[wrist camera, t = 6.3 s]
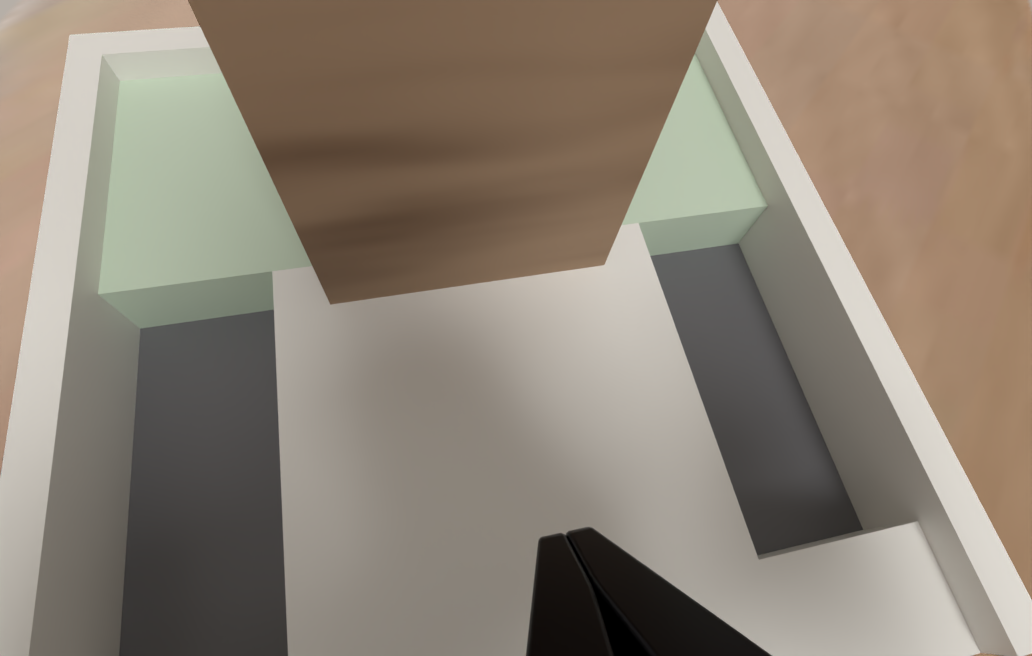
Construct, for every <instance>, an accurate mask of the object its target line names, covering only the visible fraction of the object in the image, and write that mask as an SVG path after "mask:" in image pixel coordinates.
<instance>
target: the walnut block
mask: <svg viewBox="0 0 1032 656" xmlns="http://www.w3.org/2000/svg"><path fill="white" fill-rule="evenodd" d="M188 1H189V4H190V6H191V8H192V10H193V12H194V14H195V16H196V18H197V21H198V23H199V25H200V27H201V29H202V31H203V33H204V36H205V38H206V40H207V42H208V44H209V46H210V48H211V51H212V53H213V55H214V57H215V59H216V61H217V63H218V65H219V68H220V70H221V72H222V74H223V76H224V78H225V80H226V83H227V85H228V87H229V89H230V91H231V93H232V95H233V98H234V100H235V102H236V104H237V106H238V108H239V110H240V112H241V115H242V117H243V119H244V121H245V123H246V125H247V127H248V130H249V132H250V134H251V136H252V138H253V140H254V142H255V145H256V147H257V149H258V151H259V153H260V155H261V157H262V160H263V162H264V164H265V166H266V168H267V170H268V172H269V174H270V177H271V179H272V181H273V183H274V185H275V187H276V189H277V192H278V194H279V196H280V198H281V200H282V202H283V204H284V207H285V209H286V211H287V213H288V215H289V217H290V219H291V221H292V224H293V226H294V228H295V230H296V232H297V234H298V236H299V239H300V241H301V243H302V245H303V247H304V249H305V251H306V254H307V256H308V258H309V260H310V262H311V264H312V266H313V269H314V271H315V273H316V275H317V277H318V279H319V281H320V283H321V286H322V288H323V290H324V292H325V294H326V296H327V298H328V301H329V303H330V305H331V304H338V303H345V302H352V301H359V300H366V299H373V298H380V297H387V296H394V295H401V294H407V293H414V292H421V291H428V290H435V289H442V288H449V287H456V286H463V285H470V284H477V283H484V282H491V281H498V280H505V279H512V278H519V277H525V276H532V275H539V274H546V273H553V272H560V271H567V270H574V269H581V268H588V267H595V266H602V265H605V262H606V260H607V258H608V255H609V253H610V251H611V248H612V246H613V244H614V241H615V239H616V236H617V234H618V232H619V229H620V227H621V225H622V222H623V220H624V218H625V215H626V213H627V211H628V208H629V206H630V204H631V201H632V199H633V197H634V194H635V192H636V190H637V187H638V185H639V183H640V180H641V178H642V176H643V173H644V171H645V169H646V166H647V164H648V162H649V159H650V157H651V155H652V152H653V150H654V148H655V145H656V143H657V141H658V138H659V136H660V134H661V131H662V129H663V127H664V124H665V122H666V120H667V117H668V115H669V113H670V110H671V108H672V106H673V103H674V101H675V99H676V96H677V94H678V92H679V89H680V87H681V85H682V82H683V80H684V78H685V75H686V73H687V71H688V68H689V66H690V63H691V61H692V59H693V56H694V54H695V52H696V49H697V47H698V45H699V42H700V40H701V38H702V35H703V33H704V31H705V28H706V26H707V24H708V21H709V19H710V17H711V14H712V12H713V10H714V7H715V5H716V3H717V0H188Z"/></svg>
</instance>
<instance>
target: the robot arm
mask: <svg viewBox="0 0 1032 656" xmlns="http://www.w3.org/2000/svg"><path fill="white" fill-rule="evenodd" d="M526 656H772V655H771V654H769V653H768V652H766V651H765V650H764V649H762V648H761V647H759V646H758V645H757V644H755V643H754V642H752V641H751V640H750V639H748V638H747V637H745V636H744V635H743V634H741V633H740V632H738V631H737V630H736V629H734V628H733V627H731V626H730V625H729V624H727V623H726V622H724V621H723V620H722V619H720V618H719V617H717V616H716V615H715V614H713V613H712V612H710V611H709V610H707V609H706V608H705V607H703V606H702V605H700V604H699V603H698V602H696V601H695V600H693V599H692V598H691V597H689V596H688V595H686V594H685V593H684V592H682V591H681V590H679V589H678V588H677V587H675V586H674V585H672V584H671V583H670V582H668V581H667V580H665V579H664V578H663V577H661V576H660V575H658V574H657V573H656V572H654V571H653V570H651V569H650V568H649V567H647V566H646V565H644V564H643V563H642V562H640V561H639V560H637V559H636V558H635V557H633V556H632V555H630V554H629V553H628V552H626V551H625V550H623V549H622V548H620V547H619V546H618V545H616V544H615V543H613V542H612V541H611V540H609V539H608V538H606V537H605V536H604V535H602V534H601V533H599V532H598V531H597V530H595V529H594V528H592V527H584V528H579V529H574V530H570V531H568V532H567V533H566V535H565V534H563V533H556V534H552V535H547V536H543V537H540V538H539V540H538V547H537V556H536V565H535V575H534V584H533V593H532V602H531V612H530V621H529V630H528V639H527V649H526Z"/></svg>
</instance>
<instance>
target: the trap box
mask: <svg viewBox="0 0 1032 656" xmlns="http://www.w3.org/2000/svg"><path fill="white" fill-rule="evenodd" d="M584 527H592V528H594V529H595V530H597V531H598V532H599V533H601V534H602V535H604V536H605V537H606V538H608V539H609V540H611V541H612V542H613V543H615V544H616V545H618V546H619V547H620V548H622V549H623V550H625V551H626V552H628V553H629V554H630V555H632V556H633V557H635V558H636V559H637V560H639V561H640V562H642V563H643V564H644V565H646V566H647V567H649V568H650V569H651V570H653V571H654V572H656V573H657V574H658V575H660V576H661V577H663V578H664V579H665V580H667V581H668V582H670V583H671V584H672V585H674V586H675V587H677V588H678V589H679V590H681V591H682V592H684V593H685V594H686V595H688V596H689V597H691V598H692V599H693V600H695V601H696V602H698V603H699V604H700V605H702V606H703V607H705V608H706V609H707V610H709V611H710V612H712V613H713V614H715V615H716V616H717V617H719V618H720V619H722V620H723V621H724V622H726V623H727V624H729V625H730V626H731V627H733V628H734V629H736V630H737V631H738V632H740V633H741V634H743V635H744V636H745V637H747V638H748V639H750V640H751V641H752V642H754V643H755V644H757V645H758V646H759V647H761V648H762V649H764V650H765V651H766V652H768V653H769V654H771V655H772V656H971V655H975V654H978V653H987V654H995V655H1003V656H1024V655H1028V654H1031V653H1032V600H1031V598H1030V596H1029V594H1028V592H1027V590H1026V588H1025V586H1024V584H1023V582H1022V581H1021V579H1020V577H1019V575H1018V573H1017V571H1016V569H1015V567H1014V565H1013V563H1012V562H1011V560H1010V558H1009V556H1008V554H1007V552H1006V550H1005V548H1004V546H1003V544H1002V543H1001V541H1000V539H999V537H998V535H997V533H996V531H995V529H994V527H993V525H992V523H991V522H990V520H989V518H988V516H987V514H986V512H985V510H984V508H983V506H982V504H981V503H980V501H979V499H978V497H977V495H976V493H975V491H974V489H973V487H972V485H971V484H970V482H969V480H968V478H967V476H966V474H965V472H964V470H963V468H962V466H961V465H960V463H959V461H958V459H957V457H956V455H955V453H954V451H953V449H952V447H951V445H950V444H949V442H948V440H947V438H946V436H945V434H944V432H943V430H942V428H941V426H940V425H939V423H938V421H937V419H936V417H935V415H934V413H933V411H932V409H931V407H930V406H929V404H928V402H927V400H926V398H925V396H924V394H923V392H922V390H921V388H920V386H919V385H918V383H917V381H916V379H915V377H914V375H913V373H912V371H911V369H910V367H909V366H908V364H907V362H906V360H905V358H904V356H903V354H902V352H901V350H900V348H899V347H898V345H897V343H896V341H895V339H894V337H893V335H892V333H891V331H890V329H889V327H888V326H887V324H886V322H885V320H884V318H883V316H882V314H881V312H880V310H879V308H878V307H877V305H876V303H875V301H874V299H873V297H872V295H871V293H870V291H869V289H868V288H867V286H866V284H865V282H864V280H863V278H862V276H861V274H860V272H859V270H858V268H857V267H856V265H855V263H854V261H853V259H852V257H851V255H850V253H849V251H848V249H847V248H846V246H845V244H844V242H843V240H842V238H841V236H840V234H839V232H838V230H837V229H836V227H835V225H834V223H833V221H832V219H831V217H830V215H829V213H828V211H827V209H826V208H825V206H824V204H823V202H822V200H821V198H820V196H819V194H818V192H817V190H816V189H815V187H814V185H813V183H812V181H811V179H810V177H809V175H808V173H807V171H806V170H805V168H804V166H803V164H802V162H801V160H800V158H799V156H798V154H797V152H796V151H795V149H794V147H793V145H792V143H791V141H790V139H789V137H788V135H787V133H786V131H785V130H784V128H783V126H782V124H781V122H780V120H779V118H778V116H777V114H776V112H775V111H774V109H773V107H772V105H771V103H770V101H769V99H768V97H767V95H766V93H765V92H764V90H763V88H762V86H761V84H760V82H759V80H758V78H757V76H756V74H755V72H754V71H753V69H752V67H751V65H750V63H749V61H748V59H747V57H746V55H745V53H744V52H743V50H742V48H741V46H740V44H739V42H738V40H737V38H736V36H735V34H734V33H733V31H732V29H731V27H730V25H729V23H728V21H727V19H726V17H725V15H724V13H723V12H722V10H721V8H720V6H719V4H718V2H717V3H716V5H715V7H714V10H713V12H712V14H711V17H710V19H709V21H708V24H707V26H706V28H705V31H704V33H703V35H702V38H701V40H700V42H699V45H698V47H697V49H696V52H695V54H694V56H693V59H692V61H691V63H690V66H689V68H688V71H687V73H686V75H685V78H684V80H683V82H682V85H681V87H680V89H679V92H678V94H677V96H676V99H675V101H674V103H673V106H672V108H671V110H670V113H669V115H668V117H667V120H666V122H665V124H664V127H663V129H662V131H661V134H660V136H659V138H658V141H657V143H656V145H655V148H654V150H653V152H652V155H651V157H650V159H649V162H648V164H647V166H646V169H645V171H644V173H643V176H642V178H641V180H640V183H639V185H638V187H637V190H636V192H635V194H634V197H633V199H632V201H631V204H630V206H629V208H628V211H627V213H626V215H625V218H624V220H623V222H622V225H621V227H620V229H619V232H618V234H617V236H616V239H615V241H614V244H613V246H612V248H611V251H610V253H609V255H608V258H607V260H606V262H605V265H602V266H595V267H588V268H581V269H574V270H567V271H560V272H553V273H546V274H539V275H532V276H525V277H519V278H512V279H505V280H498V281H491V282H484V283H477V284H470V285H463V286H456V287H449V288H442V289H435V290H428V291H421V292H414V293H407V294H401V295H394V296H387V297H380V298H373V299H366V300H359V301H352V302H345V303H338V304H331V305H330V303H329V301H328V298H327V296H326V294H325V292H324V290H323V288H322V286H321V283H320V281H319V279H318V277H317V275H316V273H315V271H314V269H313V266H312V264H311V262H310V260H309V258H308V256H307V254H306V251H305V249H304V247H303V245H302V243H301V241H300V239H299V236H298V234H297V232H296V230H295V228H294V226H293V224H292V221H291V219H290V217H289V215H288V213H287V211H286V209H285V207H284V204H283V202H282V200H281V198H280V196H279V194H278V192H277V189H276V187H275V185H274V183H273V181H272V179H271V177H270V174H269V172H268V170H267V168H266V166H265V164H264V162H263V160H262V157H261V155H260V153H259V151H258V149H257V147H256V145H255V142H254V140H253V138H252V136H251V134H250V132H249V130H248V127H247V125H246V123H245V121H244V119H243V117H242V115H241V112H240V110H239V108H238V106H237V104H236V102H235V100H234V98H233V95H232V93H231V91H230V89H229V87H228V85H227V83H226V80H225V78H224V76H223V74H222V72H221V70H220V68H219V65H218V63H217V61H216V59H215V57H214V55H213V53H212V51H211V48H210V46H209V44H208V42H207V40H206V38H205V36H204V33H203V31H202V29H201V27H200V26H198V27H182V28H167V29H151V30H135V31H120V32H104V33H89V34H73V35H70V37H69V43H68V50H67V56H66V62H65V69H64V75H63V81H62V88H61V94H60V100H59V107H58V113H57V120H56V126H55V132H54V139H53V145H52V151H51V158H50V164H49V171H48V177H47V183H46V190H45V196H44V202H43V209H42V215H41V221H40V228H39V234H38V241H37V247H36V253H35V260H34V266H33V272H32V279H31V285H30V291H29V298H28V304H27V311H26V317H25V323H24V330H23V336H22V342H21V349H20V355H19V361H18V368H17V374H16V381H15V387H14V393H13V400H12V406H11V412H10V419H9V425H8V432H7V438H6V444H5V451H4V457H3V463H2V470H1V476H0V656H526V649H527V639H528V630H529V621H530V612H531V602H532V593H533V584H534V575H535V565H536V556H537V547H538V540H539V538H540V537H543V536H547V535H552V534H556V533H563V534H565V535H566V533H567V532H568V531H570V530H574V529H579V528H584Z"/></svg>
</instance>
